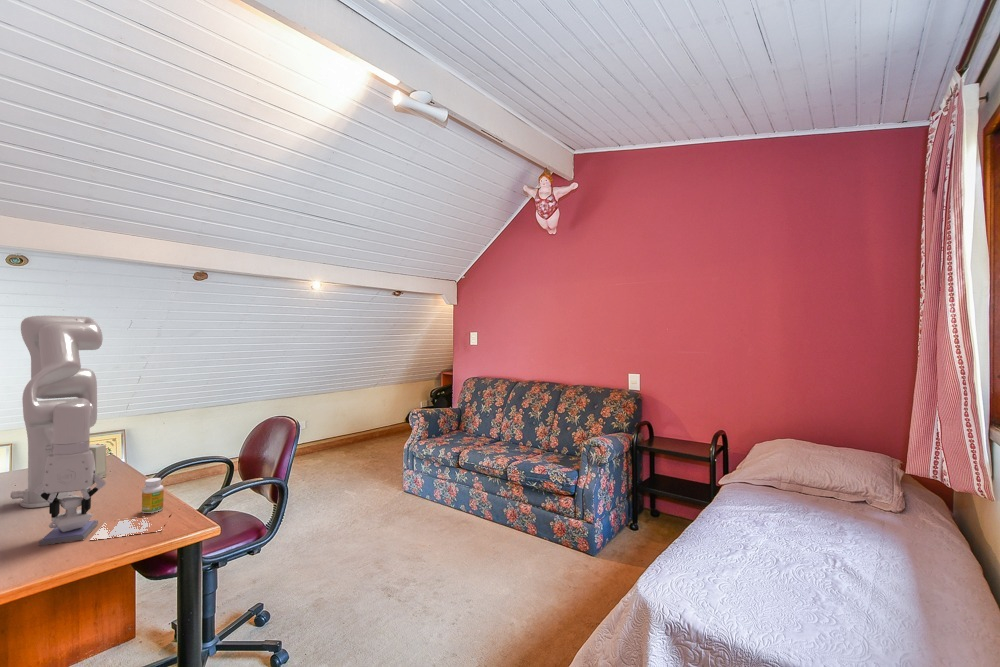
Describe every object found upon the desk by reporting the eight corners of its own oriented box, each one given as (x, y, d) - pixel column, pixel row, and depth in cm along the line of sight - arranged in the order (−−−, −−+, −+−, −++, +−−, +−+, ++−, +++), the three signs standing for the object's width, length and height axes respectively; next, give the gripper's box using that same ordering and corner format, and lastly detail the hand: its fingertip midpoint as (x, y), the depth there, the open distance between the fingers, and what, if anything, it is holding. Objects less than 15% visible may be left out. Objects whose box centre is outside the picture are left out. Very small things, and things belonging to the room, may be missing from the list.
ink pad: (39, 546, 123) (39, 540, 123) (57, 529, 133) (57, 524, 133) (83, 540, 127) (83, 534, 127) (98, 524, 137) (98, 519, 137)
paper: (89, 541, 126) (89, 540, 126) (106, 521, 139) (106, 520, 139) (161, 531, 133) (161, 530, 133) (171, 513, 146) (172, 513, 146)
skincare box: (106, 476, 180) (107, 444, 180) (95, 480, 175) (96, 447, 175) (91, 475, 181) (92, 443, 180) (80, 479, 176) (80, 446, 176)
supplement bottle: (151, 515, 145) (152, 483, 144) (137, 513, 146) (137, 481, 146) (167, 508, 150) (168, 477, 150) (153, 507, 151) (153, 476, 151)
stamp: (52, 537, 125) (53, 505, 125) (44, 531, 128) (45, 500, 128) (96, 526, 132) (96, 495, 132) (87, 520, 136) (87, 491, 136)
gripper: (22, 454, 123) (21, 524, 123) (106, 448, 130) (105, 514, 130) (36, 447, 130) (35, 513, 130) (114, 442, 137) (113, 505, 137)
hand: (70, 513), depth 130 cm, fingers closed on stamp, 5 cm apart
